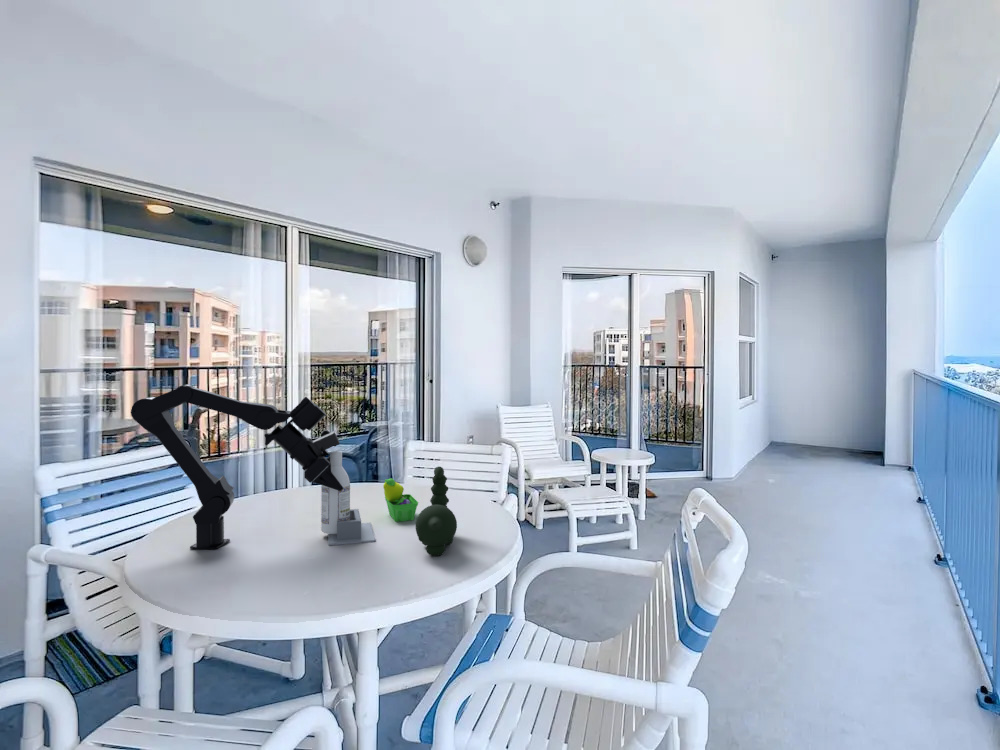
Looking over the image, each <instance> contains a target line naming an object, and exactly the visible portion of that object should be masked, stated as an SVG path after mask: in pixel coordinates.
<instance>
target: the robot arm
mask: <svg viewBox="0 0 1000 750" xmlns="http://www.w3.org/2000/svg"><path fill="white" fill-rule="evenodd" d="M185 403H186V404H187V403H188V404H190V405H194V406H197V407H202V408H204V409H207V410H212V411H215V412H218V413H222V414H225V415H228V416H232V417H235V418H237V419H240V420H242V421H243V422H244V423H247V424H248V425H251V426H253V427H255V428H257V429H259V430H262V431H267V430H271V429H273V428H274V427H275V426H276V425H277V424H279V425H277V426H276V427H275V428H274V429H273V430H272V431H271V432H265V434H264V439H265V440H264V441H265V443H264V445H265V446H268V445H270V444H271V442H273V441H274V442H275V443H276V444H277V445H278V446H279V447H280V448H281V449H282V450H283V451H285V453H287V454H288V455H289V458H290V459H291V460H294V461H295V462H296V463H298V464H299V466H301V467H302V468H301V469H302V470H303V471H304V473H303V475H304V479H305V480H306V481H308V482H309V483H310V484H311V483H312V484H317V485H321V486H322V485H323V486H326V487H329V488H332V489H335V490H338V491H341V490H342V489H343V486H342V485H341V484H340V482H339V481H338V480H337V478H336V477H335V476H334V474H333V473H332V472H331V462H330V451H328V449H331V448H332V447H337V446H338V445H340V444H341V442H340V440H339V438H338V435H337V434H336V431H334V430H333V431H331V432H330V431H329V430H328V429H325V430H322V431H321V432H320V437H317V438H316V439H314V440H313V439H312V438H311V437H306V435H304V434H303V433H302V432H304V431H305V430H307V431H311V430H312V429H314V427H316V425H317V424H318V423H319V422H321V421H322V420H323V419H324V418H325V417H326V416H327V413H325V412H324V410H323V409H322V408H321V407H320V406H319V405H318V404H316V403H314V402H313V401H312V400H311V399H310V398H309V397H307V396H305V397H303V398H302V399H301V400H300V402H299V403H298V404H297V405H296V406H295V407H294V408H293V409H292V410H282V409H278V408H277V407H276V406H275V405H272V404H269V403H268V404H266V403H259V402H252V401H251V402H249V401H241V400H239V399H235V398H232V397H228V396H226V395H225V396H224V395H222V394H219V393H216V392H211V391H209V390H205V389H201V388H199V387H198V388H197V387H195V386H193V385H191V384H184V385H180V386H178V387H177V388H174V389H173V390H170V391H168V392H166V393H163V394H161V395H157V396H156V397H154V396H150V397H145V398H140V399H137V400H136V402H133V404H132V405H131V409H130V416H131V417H132V419H133V420H134V421H135V422H136V423H137V424H138V425H140V427H142V428H143V429H144V430H146V431H147V432H148V433H150V434H152V435H153V436H154V437H156V438H157V439H158V440H159V441H160V443H161V444H162V446H163V447H164V448H165V449H166V451H167V452H168V453H169V455H170V456H171V458H172V459H173V460H174V461H175V462H176V463H177V465H178V467H180V469H181V471H182V472H183V473H184V474H185V475H186V476H187V477H188V479H189V481H190V482H191V483H192V484H193V485H194V488H195V490H196V494H197V497H198V500H199V502H200V503H201V507H200V508H199V509H198V510H197V511H196V512H195V513H194V514H193V516H192V519H193V521H194V523H195V525H196V527H195V528H196V529H195V530H196V531H195V538H196V540H195V541H196V542H195V543H194V544H192V545H190V546H189V549H191V550H193V549H195V550H196V549H197V550H218V549H219V548H221V547H223V546H225V545H226V544H228V543H229V542H231V539H230V538H225V519H224V517H225V516H224V514H225V513H227V512H228V510H229V509H230V508H231V506H232V505H233V503H234V500H235V493H234V491H233V490H234V489H235V488H234V487H233V486H232V485H231V484H229V482H228V481H227V478H226V477H225V475H222V476H221V477H220V478H218V477H216V475H213V473H211V472H210V471H209V469H208V468H207V467H206V465H205V464H204V462H203V461H202V459H200V458H199V456H198V455H197V453H196V452H195V451H194V449H193V448H192V446H190V444H189V443H188V442H187V440H186V439H185V438H184V437H183V435H182V434H181V433H180V432H179V430H178V429H177V427H176V426H175V422H174V420H173V416H172V414H171V412H170V410H173V409H175V408H178V407H179V406H181V405H183V404H185ZM290 418H291V419H290ZM289 419H290V420H289ZM288 420H289V421H288ZM287 421H288V422H287ZM285 422H286V424H285V425H284V426H282V425H280V424H281V423H285ZM292 423H293V424H292ZM294 425H295V426H294ZM297 427H298V428H299V429H300V430H301V431H302V432H301V431H300V430H299V429H297ZM327 456H328V457H327Z"/></svg>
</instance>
